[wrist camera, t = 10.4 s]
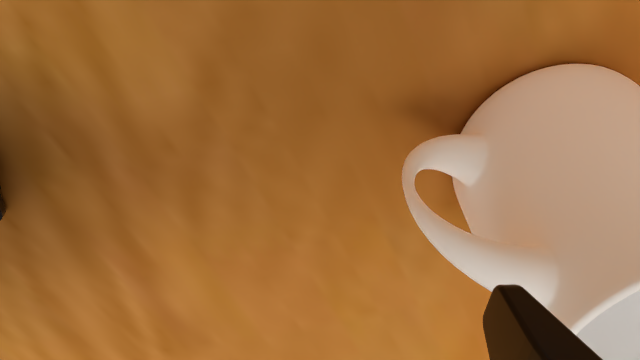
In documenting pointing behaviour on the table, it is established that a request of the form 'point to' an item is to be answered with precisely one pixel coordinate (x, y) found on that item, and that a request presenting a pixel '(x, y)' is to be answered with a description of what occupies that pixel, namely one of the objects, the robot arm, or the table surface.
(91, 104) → the table surface
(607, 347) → the mug
